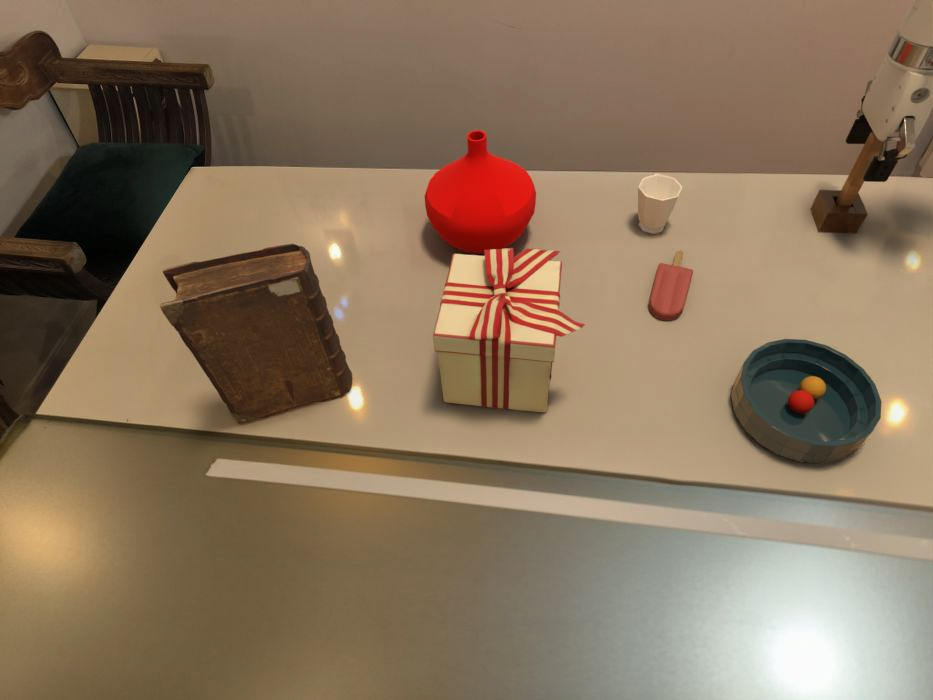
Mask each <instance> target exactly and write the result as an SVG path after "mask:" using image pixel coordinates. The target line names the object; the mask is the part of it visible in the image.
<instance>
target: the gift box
mask: <svg viewBox="0 0 933 700" xmlns="http://www.w3.org/2000/svg"><path fill="white" fill-rule="evenodd" d="M559 253H561V250H547V249H537V248H525V249H523V250H522V251H521V252H519V253H518V254H516V255H515V256H514V248H513V247H505V248H503V249H492V250H484V253H483V254H484V255H480V254H478V255H477V254H464V253H463V254H462V253H452V255H451V260H450V264H449V268H448V273H447V277H446V279H445V280H446V281H445V283H444V289H443V293H442V297H441V300H440V304H439V306H440V307H439V309H438V314H437V318H436V321H435V326H434V329H433V333H432V343H433V351H434V352H437V356H438V365H439V373H440V381H441V389H442V396H443V401H444V402H445V403H448V404H449V403H450V404H457V405H467V406H476V407H477V406H478V407H483V408H493V409H503V410H516V411H524V412H525V411H526V412H537V413H547V410H548V401H549V390H550V389H549V388H550V381H551V380H552V372H553V371H552V369H553V363H554V362H555V356H556V348H557V336H558V337H560V338H561V337H564V336H568V335H570V334H572V333H574V332H576V331H579V330H581V329H582V328H583V327H584V326H586V324H585V323H582V322H578V321H576V320H575V319H573V318H571V317H570V316H569V315H566V314H565V313H564V312H562V311H560V305H561V293H560V292H561V280H562V268H563V261H558V260H557V261H556V260H552V259H553V258H555V257H556V256H557V255H558V254H559Z"/></svg>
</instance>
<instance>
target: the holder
mask: <svg viewBox="0 0 933 700" xmlns="http://www.w3.org/2000/svg"><path fill="white" fill-rule="evenodd" d="M841 190H842V189H840V190H839V189H837V190H835V189H819V190H818V192H817V194H816V196H815V198H814V200H813V203H812V205H811V207H810V212H811V211H812V212H811V216H812V218H813V220H814V223H815V226H816V228H817V232H818V233H841V234H842V233H844V234H845V233H847V234H858V232H859V231H860V229H861V227H862V225H863V223H864V221H865V220H866V218H867V216H868V213H869V212H868V211H867V208H866V206H865V204H864V202H863V200H862V198H861V195H860V193H859V192H858V194H857V196H856V198H855V200H854V202H853V203H852V205H851V207H837V206H836V204H835V201H836V200H837V198H838V196H839V194H840V192H841Z"/></svg>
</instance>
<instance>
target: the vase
mask: <svg viewBox="0 0 933 700" xmlns="http://www.w3.org/2000/svg"><path fill="white" fill-rule="evenodd" d="M487 137H488V136H487V133H486V132H485V131H483V130H481V129H478V130H477V129H476V130H471V131H469V132H468V133H467V134H466V141H467V153H466V154H465V155H463V156H462V157H460V158H458V159H456V160H454V161H451V162H450V163H448V164H446V165H444V166H443V167H441V168H440V169H439V170H437V171H436V172H435V173H434V174H433V175H432V177H430V179H429V181H428V184H427V187H426V189H425V193H424V207H425V212H426V217H427V218H428V221H429V223H430V224H431V226H432V227H433V228H434V230H435V231H436V233H437V234H438V236H439V237H440V238H442V239H443V240H444V241H445V242H446V243H447V244H449V245H451V246H452V247H454V248H456V249H458V250H460V251H462V252H466V253H469V254H478V255H480V254H485V253H484V250H492V249H506V248H508V246H510V245H511V244H513V243H514V242H515V241H516V240H517V239H519V238H520V237H521V236H522V235H523V233H524V232H525V231H526V229H527V227H528V225H529V224H530V221H531V220H532V218H533V216H534V214H535V211H536V210H535V209H536V203H537V190H536V187H535V184H534V181H533V179H532V177H531V175H530V174H529V173H528V171H527V170H526V169H525V168H523V167H522V166H520V165H519V164H518V163H516V162H513V161H511V160H508V159H506V158H502V157H499V156H497V155H494V154H492V153H490V152H489V150H488V139H487Z"/></svg>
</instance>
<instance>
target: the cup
mask: <svg viewBox="0 0 933 700" xmlns="http://www.w3.org/2000/svg"><path fill="white" fill-rule="evenodd" d="M682 190H683V186H682V184H681V183H680V182H679V181H678V180H677V179H676V178H675V177H673V176H669V175H666V174H665V175H664V174H660V173H653V174H651V175H648V176H644V177H643V178H642V179H641V181H640V183H639V184H638V186H637V214H638V221H639V223H638V227H639V228H640V229H641V230H642V232H644V233H648V234H651V235H654V234H659V233H662V232H663V231H664V228H665V227H666V224H667V222H668V220H669V218H670V216H671V214H672V212H673V210H674V208H675V205H676V203H677V201H678V199H679V196H680V195H681V192H682Z"/></svg>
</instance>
